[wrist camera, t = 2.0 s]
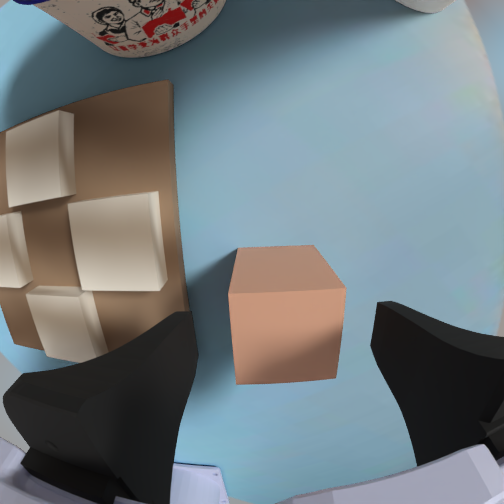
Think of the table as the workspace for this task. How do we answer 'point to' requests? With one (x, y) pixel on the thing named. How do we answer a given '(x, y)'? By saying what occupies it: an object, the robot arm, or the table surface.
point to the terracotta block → (285, 315)
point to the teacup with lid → (133, 22)
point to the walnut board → (103, 169)
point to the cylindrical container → (426, 5)
